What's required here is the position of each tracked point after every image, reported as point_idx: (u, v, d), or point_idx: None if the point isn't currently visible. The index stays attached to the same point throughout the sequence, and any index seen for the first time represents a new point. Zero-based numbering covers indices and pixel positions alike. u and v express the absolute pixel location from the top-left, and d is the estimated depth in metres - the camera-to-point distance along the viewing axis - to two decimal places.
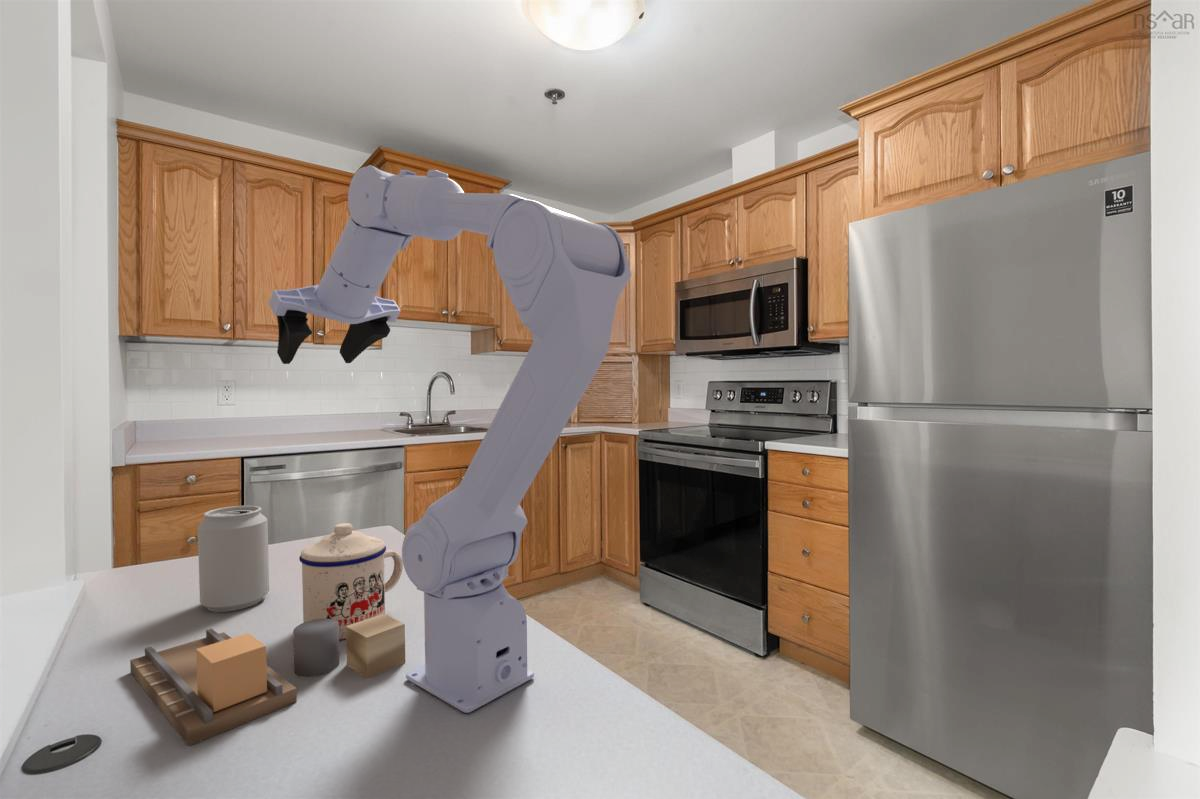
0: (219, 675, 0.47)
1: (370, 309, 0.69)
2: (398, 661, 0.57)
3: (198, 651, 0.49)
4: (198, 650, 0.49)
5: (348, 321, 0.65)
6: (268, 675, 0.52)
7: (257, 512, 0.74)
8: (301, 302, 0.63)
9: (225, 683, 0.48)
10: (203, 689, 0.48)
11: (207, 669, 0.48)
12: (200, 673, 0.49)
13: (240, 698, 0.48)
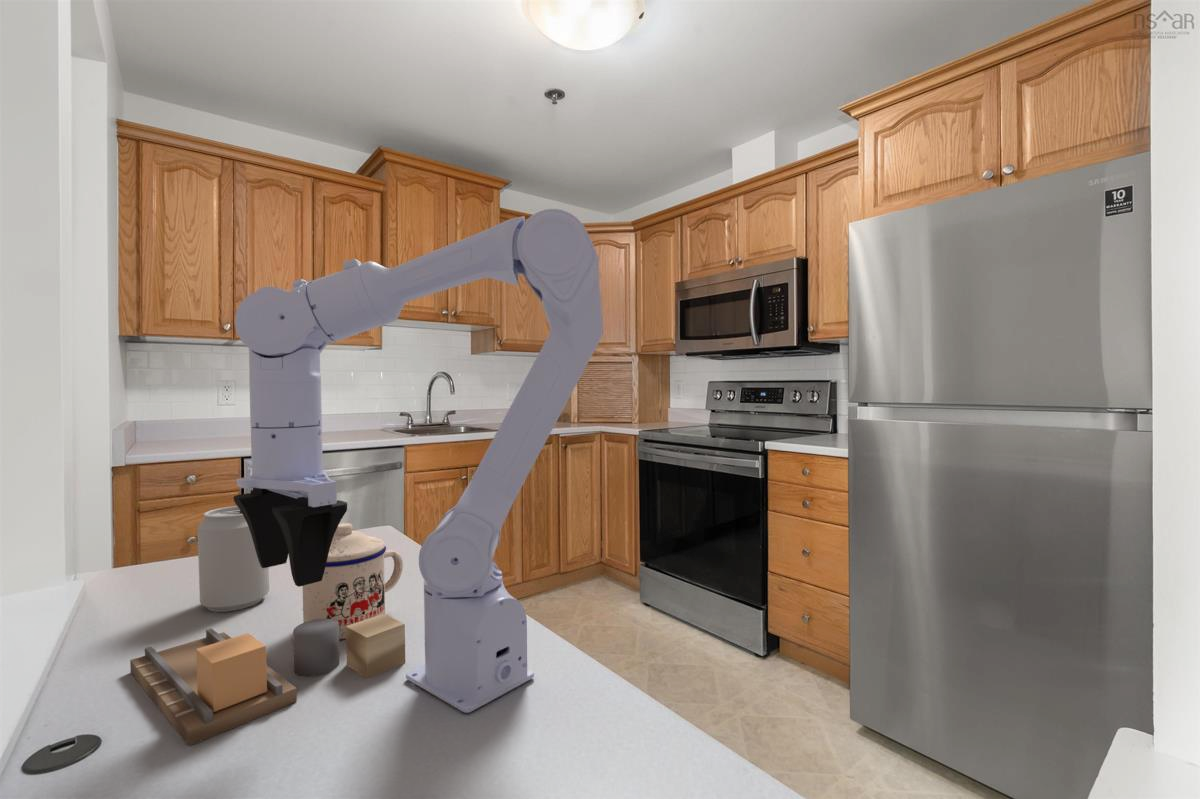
0: (219, 675, 0.47)
1: None
2: (398, 661, 0.57)
3: (198, 651, 0.49)
4: (198, 650, 0.49)
5: None
6: (268, 675, 0.52)
7: None
8: None
9: (225, 683, 0.48)
10: (203, 689, 0.48)
11: (207, 669, 0.48)
12: (200, 673, 0.49)
13: (240, 698, 0.48)
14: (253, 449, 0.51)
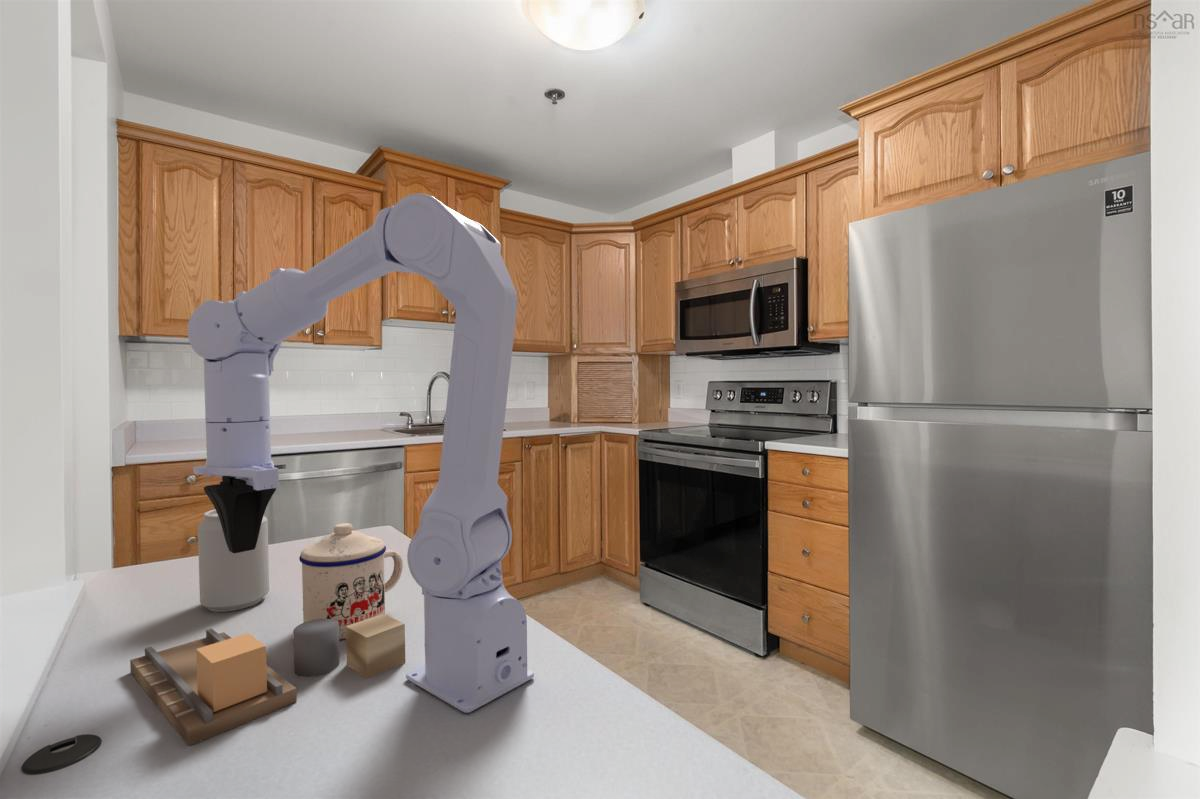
0: (219, 675, 0.47)
1: None
2: (398, 661, 0.57)
3: (198, 651, 0.49)
4: (198, 650, 0.49)
5: None
6: (268, 675, 0.52)
7: None
8: None
9: (225, 683, 0.48)
10: (203, 689, 0.48)
11: (207, 669, 0.48)
12: (200, 673, 0.49)
13: (240, 698, 0.48)
14: (207, 441, 0.58)
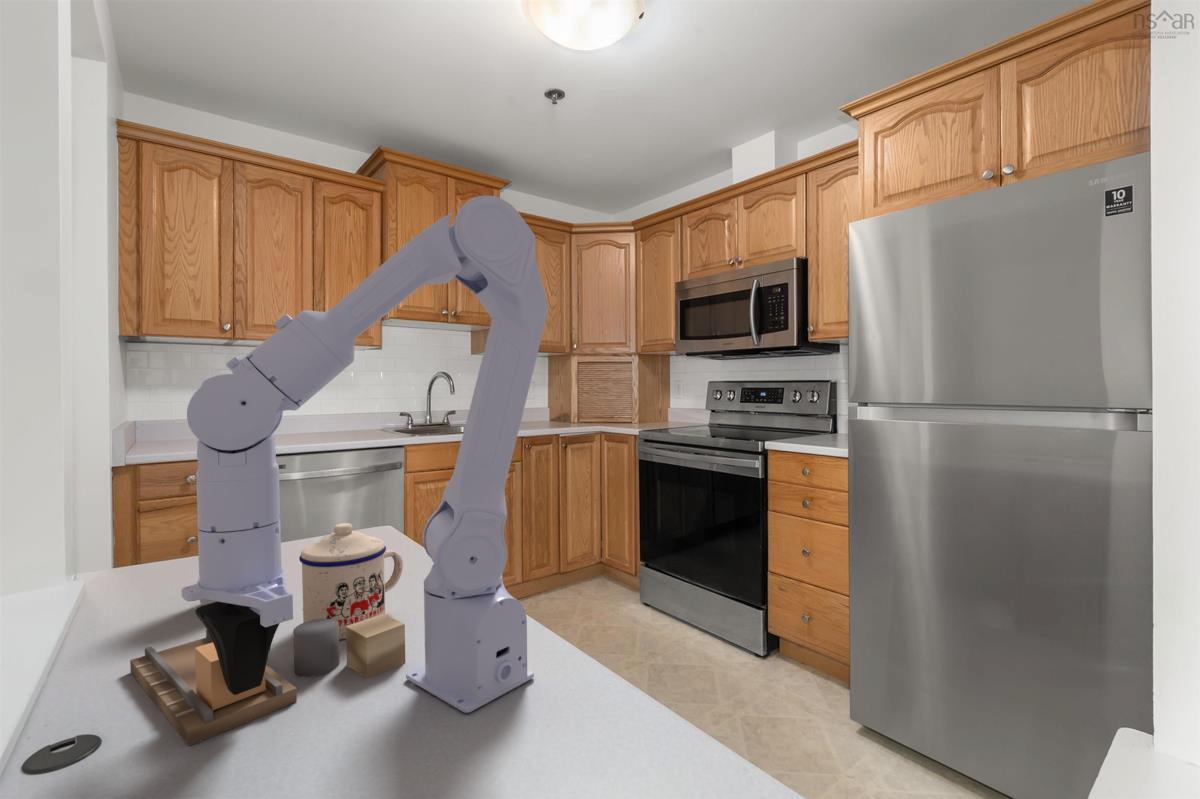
0: (218, 674, 0.47)
1: None
2: (398, 661, 0.57)
3: (197, 650, 0.49)
4: (197, 649, 0.49)
5: None
6: (268, 675, 0.52)
7: None
8: (271, 592, 0.45)
9: (224, 682, 0.48)
10: (202, 688, 0.49)
11: (205, 668, 0.48)
12: (199, 672, 0.49)
13: (238, 697, 0.49)
14: (200, 554, 0.45)
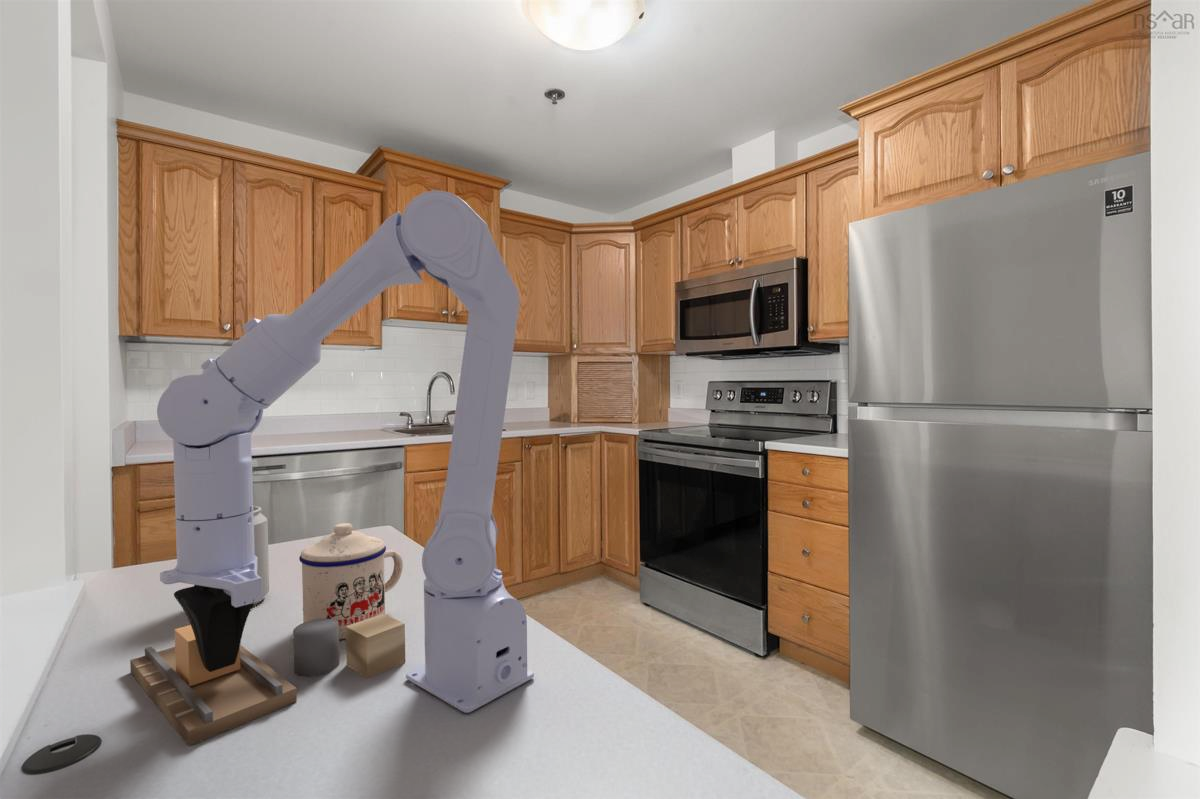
0: (195, 653, 0.51)
1: None
2: (398, 661, 0.57)
3: (176, 631, 0.53)
4: (176, 630, 0.53)
5: None
6: (268, 675, 0.52)
7: (257, 512, 0.74)
8: (243, 576, 0.49)
9: (201, 660, 0.52)
10: (180, 666, 0.52)
11: (183, 647, 0.52)
12: (178, 651, 0.53)
13: (214, 674, 0.52)
14: (177, 541, 0.49)
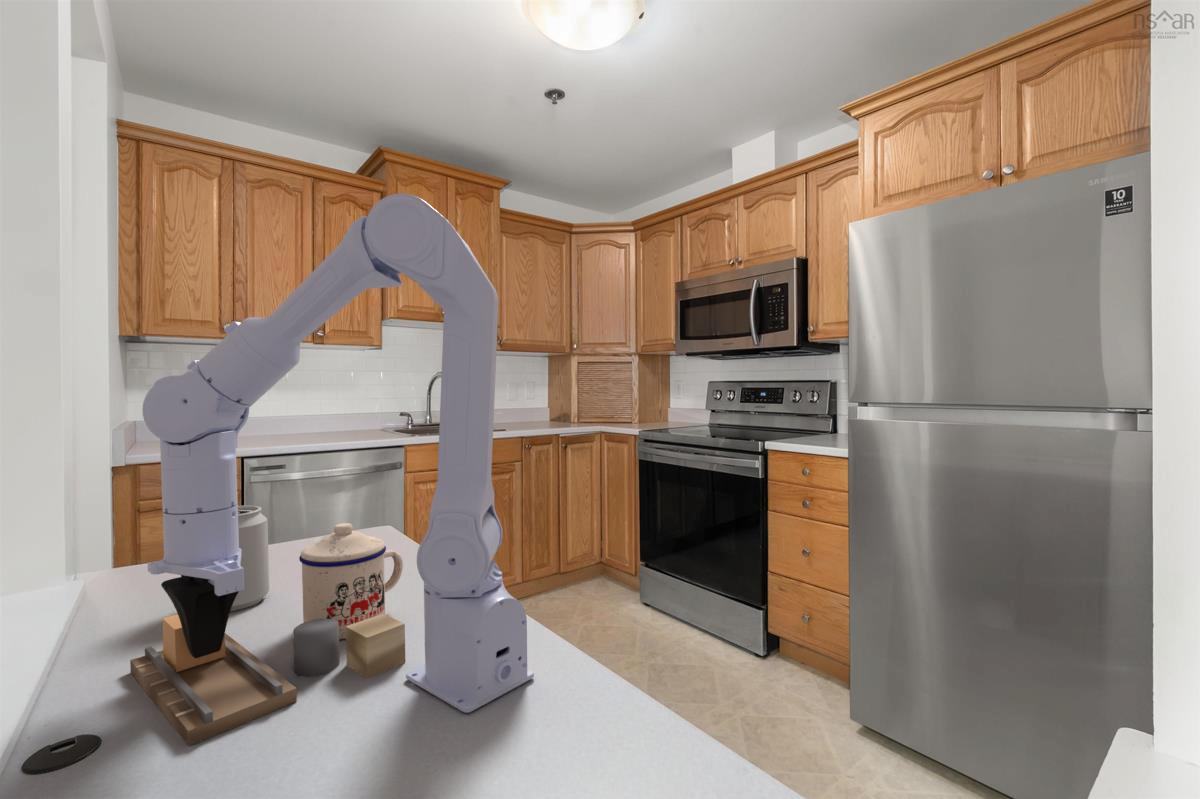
0: (181, 640, 0.54)
1: None
2: (398, 661, 0.57)
3: (164, 620, 0.56)
4: (164, 619, 0.56)
5: None
6: (268, 675, 0.52)
7: (257, 512, 0.74)
8: (226, 567, 0.51)
9: (187, 648, 0.54)
10: (168, 653, 0.55)
11: (170, 635, 0.54)
12: (165, 639, 0.55)
13: (200, 661, 0.55)
14: (164, 534, 0.51)
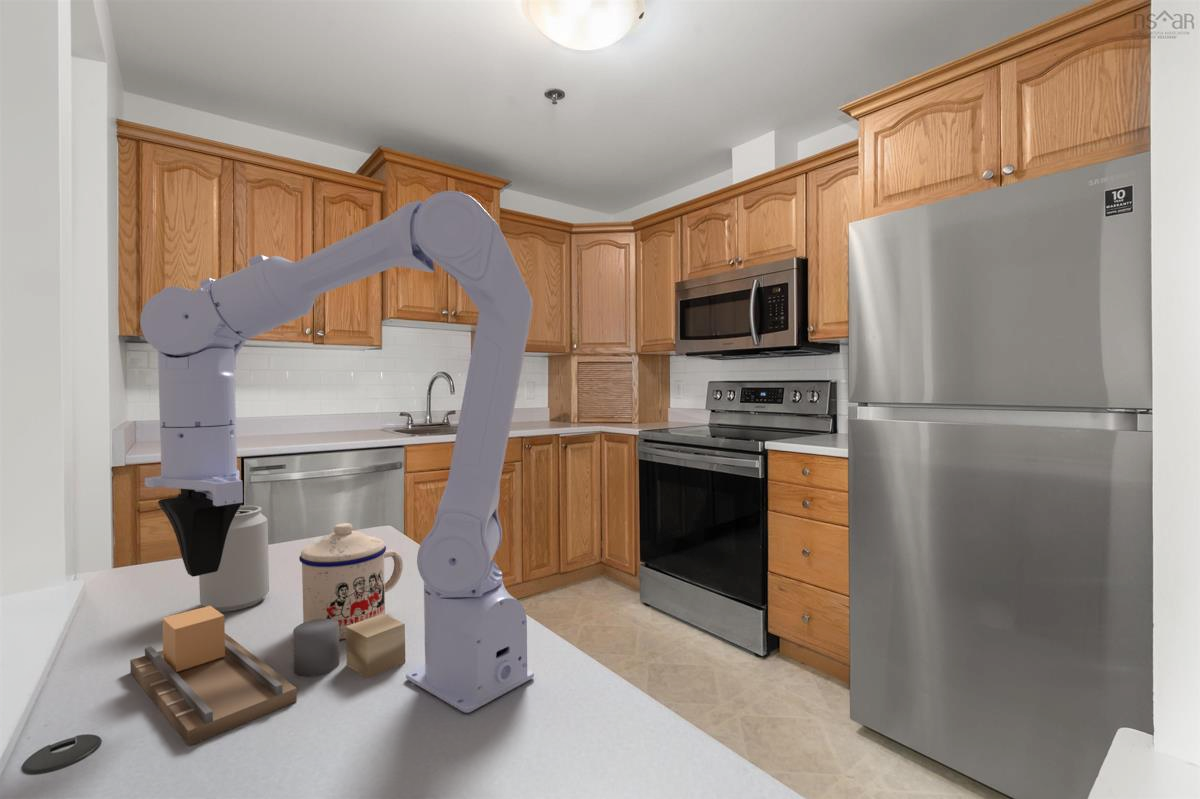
0: (181, 640, 0.54)
1: None
2: (398, 661, 0.57)
3: (164, 620, 0.56)
4: (164, 619, 0.56)
5: None
6: (268, 675, 0.52)
7: (257, 512, 0.74)
8: None
9: (187, 648, 0.54)
10: (168, 653, 0.55)
11: (170, 635, 0.54)
12: (165, 639, 0.55)
13: (200, 661, 0.55)
14: (162, 448, 0.51)
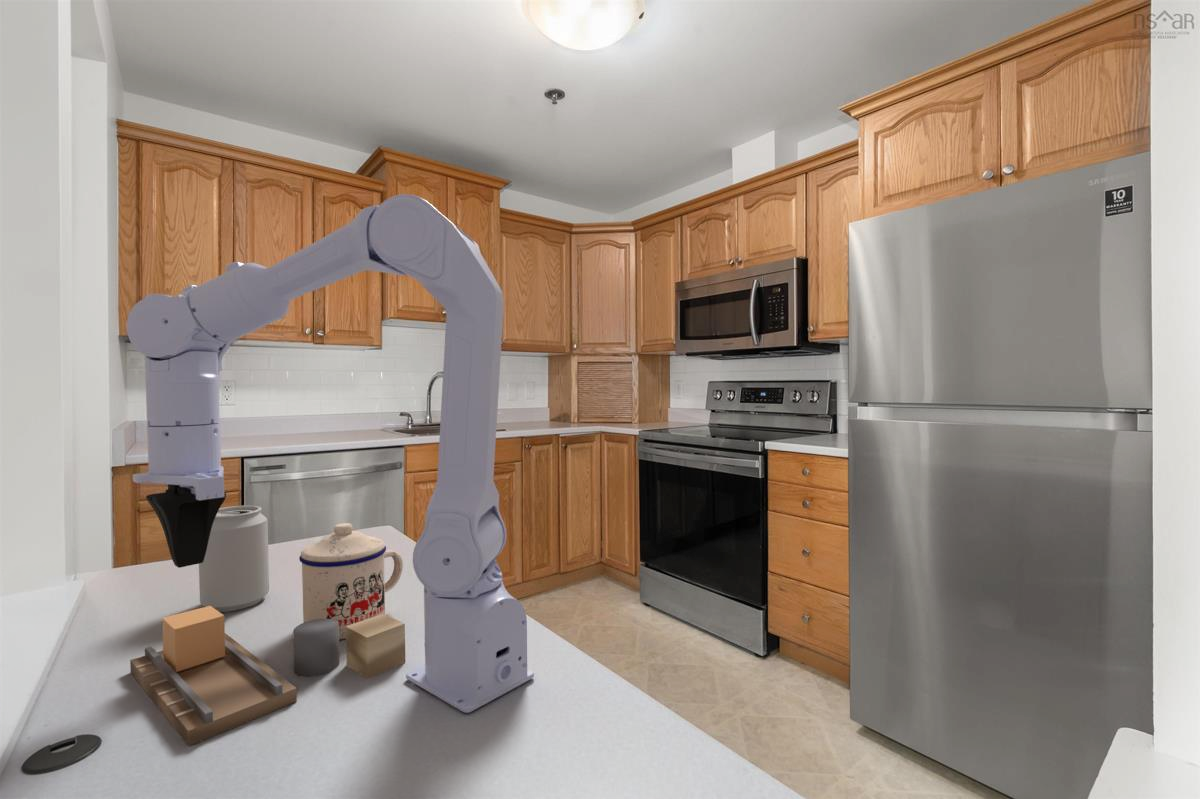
0: (181, 640, 0.54)
1: None
2: (398, 661, 0.57)
3: (164, 620, 0.56)
4: (164, 619, 0.56)
5: None
6: (268, 675, 0.52)
7: (257, 512, 0.74)
8: None
9: (187, 648, 0.54)
10: (168, 653, 0.55)
11: (170, 635, 0.54)
12: (165, 639, 0.55)
13: (200, 661, 0.55)
14: (148, 446, 0.54)
